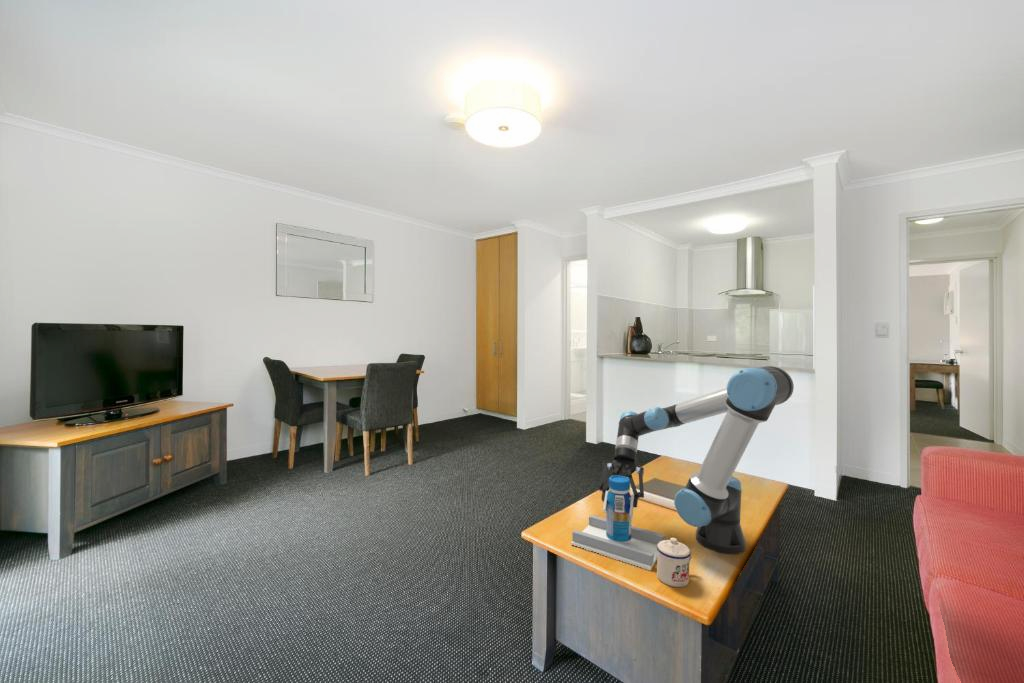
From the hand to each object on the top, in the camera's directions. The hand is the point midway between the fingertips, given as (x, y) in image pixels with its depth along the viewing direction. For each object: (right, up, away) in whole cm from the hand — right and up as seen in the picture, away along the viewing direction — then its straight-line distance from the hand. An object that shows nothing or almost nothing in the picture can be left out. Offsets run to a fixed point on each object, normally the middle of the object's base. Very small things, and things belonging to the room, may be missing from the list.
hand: (617, 513), depth 136 cm
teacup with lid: (+13, -13, -14) cm, 23 cm away
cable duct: (+1, -12, +3) cm, 13 cm away
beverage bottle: (+1, -10, +3) cm, 10 cm away
